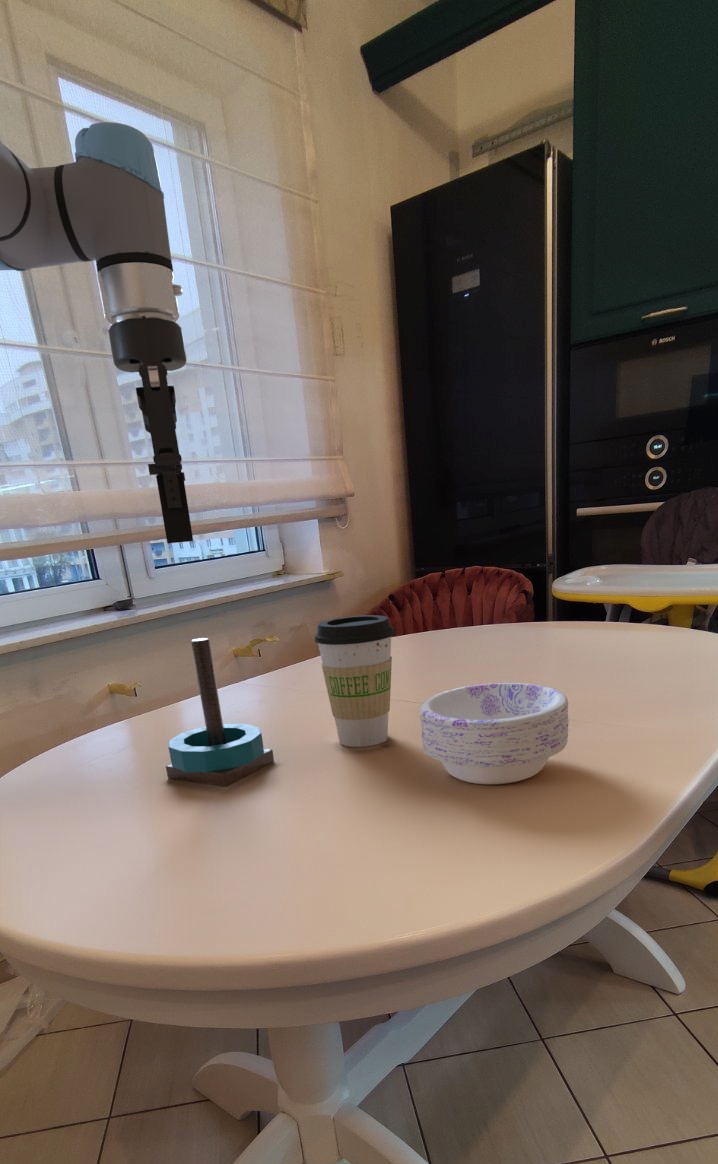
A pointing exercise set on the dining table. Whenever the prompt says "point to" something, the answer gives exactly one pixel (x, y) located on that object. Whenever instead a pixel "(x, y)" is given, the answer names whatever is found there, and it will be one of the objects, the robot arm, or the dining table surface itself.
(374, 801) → the dining table surface
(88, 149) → the robot arm
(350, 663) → the coffee cup
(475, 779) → the paper bowls
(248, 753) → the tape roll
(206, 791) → the dining table surface
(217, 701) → the peg stand
